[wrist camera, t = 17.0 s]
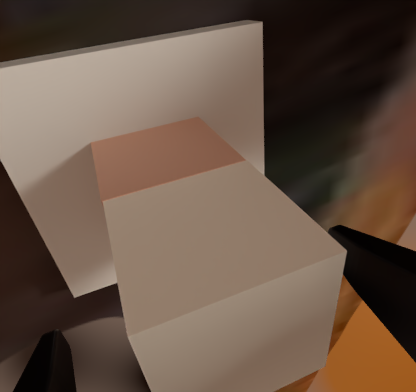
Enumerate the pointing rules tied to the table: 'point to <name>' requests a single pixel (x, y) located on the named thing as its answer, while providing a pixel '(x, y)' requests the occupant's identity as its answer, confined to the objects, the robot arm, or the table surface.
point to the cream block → (223, 282)
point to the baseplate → (119, 124)
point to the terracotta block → (158, 156)
